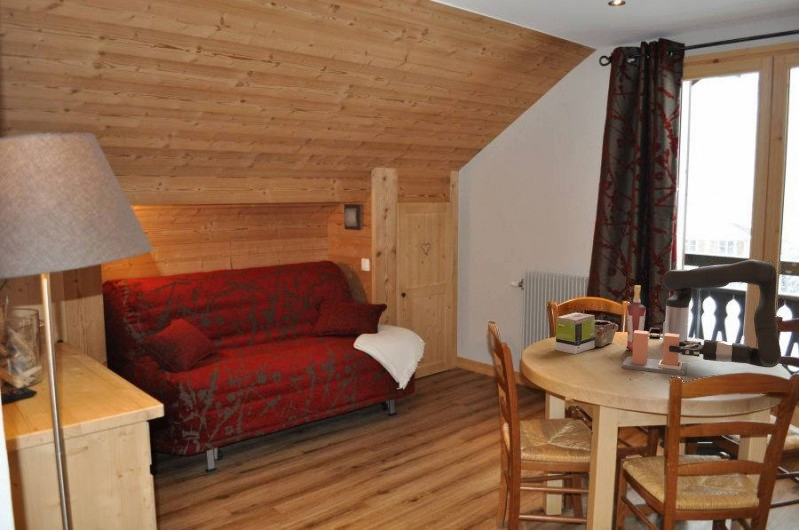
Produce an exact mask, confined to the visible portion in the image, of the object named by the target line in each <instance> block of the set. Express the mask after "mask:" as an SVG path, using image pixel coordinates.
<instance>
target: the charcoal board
mask: <svg viewBox="0 0 799 530" xmlns="http://www.w3.org/2000/svg"><path fill="white" fill-rule="evenodd" d="M649 331H650V330H649ZM649 331H647V330H644V331H639V330H635V331H634V333H633V352H632V356H629V355H628V356H626V358H625V359H624V360H623V363H622V364H621V366H622V369H628V370H636V371H645V372H651V373H652V372H653V373H660V374H661V373H662V374H667V375H668V374H669V375H670V374H671V375H679V376H683V377H684V376H686V373H687V367H688V363H687V362H683V361H678V366H671V365H663V359H654V358H648V356H649V355H648V354H649V353H648V352H649V338H648V336H649Z"/></svg>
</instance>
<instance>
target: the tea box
mask: <svg viewBox="0 0 799 530" xmlns="http://www.w3.org/2000/svg"><path fill="white" fill-rule="evenodd" d="M595 320H596V316H595V314H590V313H589V314H588V313H581V312H572V313H568V314H564V315H559V316H556V317H555V350H556V351H557V352H564V353H568V354H573V355H576V354H579V353H583V352H586V351H588V350H591V349H595V348H596V347H595V340H594V339H595Z"/></svg>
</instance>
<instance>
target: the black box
mask: <svg viewBox="0 0 799 530" xmlns="http://www.w3.org/2000/svg"><path fill="white" fill-rule="evenodd" d="M655 334H656V335H655ZM661 334H662V332H661V329H660V327H650V328H649V336H648V340H650V339H652V340H663V335H661Z"/></svg>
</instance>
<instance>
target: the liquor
mask: <svg viewBox="0 0 799 530" xmlns="http://www.w3.org/2000/svg"><path fill="white" fill-rule="evenodd" d="M641 290H642V285H640V284H639V285H637V284H636V285H633V292H634V294H633V298H632V299H633V300H632V303H631V304H628V305H627V307H626V308H627V312H626V314H627V315H626V316H627V317H626V318H627V320H626V321H627V322H626V323H627V343H626V347H625V348H626V349H627V350H628V351H629V352H631V353H633V333H634V331H635V330H639V331H645V329H644V328H645V321H646V311H647V310H646V309H647V307H646V306H645V305H643V304H641Z"/></svg>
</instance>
